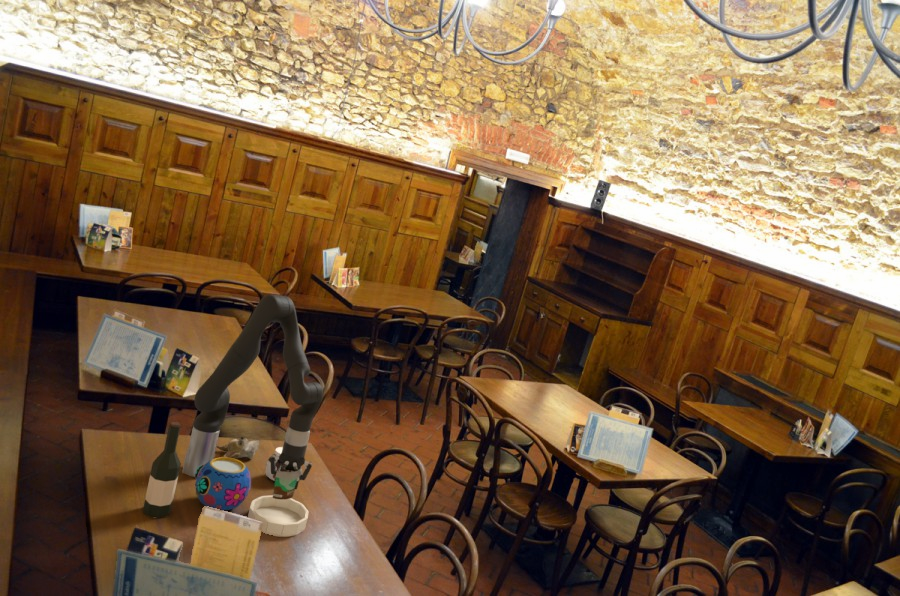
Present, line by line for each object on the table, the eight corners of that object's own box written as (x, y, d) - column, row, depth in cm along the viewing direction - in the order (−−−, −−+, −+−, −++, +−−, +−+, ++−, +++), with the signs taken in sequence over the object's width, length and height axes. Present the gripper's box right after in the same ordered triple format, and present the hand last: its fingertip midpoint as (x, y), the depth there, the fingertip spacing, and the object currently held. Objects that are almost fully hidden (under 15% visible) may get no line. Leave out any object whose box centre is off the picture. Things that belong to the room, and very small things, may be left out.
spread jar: (260, 477, 271) (267, 448, 269) (278, 469, 281) (284, 441, 279) (287, 489, 267) (294, 460, 265) (304, 480, 277) (311, 452, 276)
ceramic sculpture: (263, 442, 280) (224, 443, 272) (260, 463, 282) (220, 464, 274) (256, 431, 289) (218, 431, 281) (253, 451, 291) (214, 452, 283)
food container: (288, 505, 235) (294, 476, 234) (270, 499, 236) (276, 471, 235) (302, 491, 247) (308, 463, 246) (286, 485, 248) (291, 458, 247)
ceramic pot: (188, 491, 247) (197, 450, 245) (241, 494, 255) (250, 454, 252) (192, 518, 231) (202, 475, 229) (248, 520, 239) (258, 478, 237)
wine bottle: (176, 511, 233) (195, 424, 228) (158, 521, 225) (177, 431, 220) (155, 502, 235) (173, 415, 230) (136, 511, 227) (155, 421, 222)
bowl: (243, 530, 232) (246, 517, 232) (253, 502, 251) (255, 491, 250) (302, 541, 235) (305, 529, 234) (307, 513, 254) (310, 501, 253)
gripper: (272, 440, 234) (261, 489, 237) (317, 449, 236) (305, 497, 239) (275, 432, 241) (265, 479, 244) (318, 440, 243) (307, 487, 246)
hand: (285, 487), depth 241 cm, fingers closed on food container, 5 cm apart
